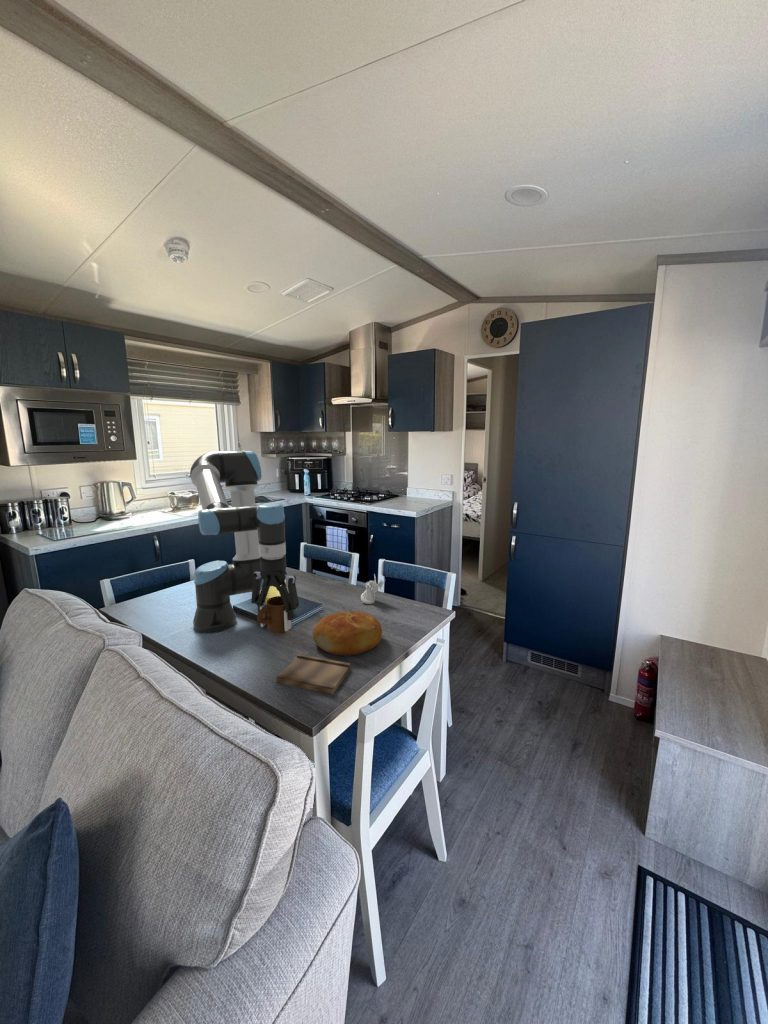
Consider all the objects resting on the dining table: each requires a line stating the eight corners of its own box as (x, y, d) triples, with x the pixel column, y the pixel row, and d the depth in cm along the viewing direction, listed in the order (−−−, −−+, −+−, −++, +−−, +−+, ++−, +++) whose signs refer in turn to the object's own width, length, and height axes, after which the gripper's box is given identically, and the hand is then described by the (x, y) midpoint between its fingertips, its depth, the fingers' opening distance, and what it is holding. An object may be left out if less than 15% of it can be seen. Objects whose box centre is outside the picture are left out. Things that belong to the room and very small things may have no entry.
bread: (334, 622, 163) (334, 598, 161) (391, 634, 154) (392, 608, 152) (301, 651, 143) (300, 623, 141) (365, 666, 134) (364, 637, 132)
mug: (266, 643, 125) (266, 613, 122) (249, 635, 129) (249, 606, 127) (296, 627, 134) (296, 600, 132) (280, 620, 138) (280, 593, 136)
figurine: (358, 603, 180) (357, 576, 178) (365, 596, 187) (365, 570, 185) (381, 607, 177) (382, 580, 174) (388, 600, 184) (388, 573, 181)
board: (276, 682, 125) (276, 676, 125) (298, 659, 137) (298, 653, 137) (332, 694, 120) (332, 687, 119) (350, 669, 132) (350, 663, 132)
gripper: (235, 556, 125) (240, 627, 130) (297, 563, 119) (300, 638, 124) (250, 548, 132) (254, 616, 137) (310, 555, 126) (311, 626, 131)
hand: (276, 626), depth 131 cm, fingers closed on mug, 8 cm apart
